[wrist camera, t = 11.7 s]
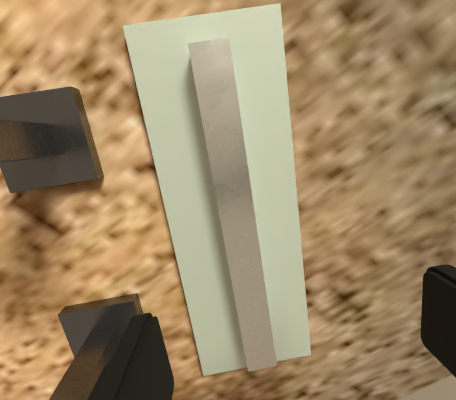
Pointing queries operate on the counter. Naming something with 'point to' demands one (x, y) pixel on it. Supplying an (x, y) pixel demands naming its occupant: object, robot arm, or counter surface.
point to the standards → (52, 176)
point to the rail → (233, 194)
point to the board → (203, 182)
